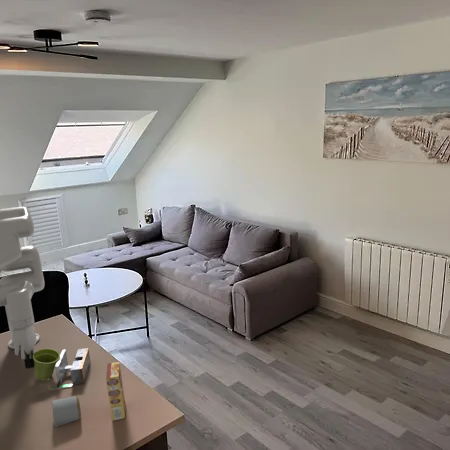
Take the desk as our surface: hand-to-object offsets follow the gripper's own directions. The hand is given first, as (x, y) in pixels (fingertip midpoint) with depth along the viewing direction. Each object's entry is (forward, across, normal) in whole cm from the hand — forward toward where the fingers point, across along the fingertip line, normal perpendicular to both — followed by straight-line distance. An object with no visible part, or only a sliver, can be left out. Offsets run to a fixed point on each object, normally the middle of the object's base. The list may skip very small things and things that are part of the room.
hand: (30, 366), depth 154 cm
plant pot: (+5, 0, +4) cm, 6 cm away
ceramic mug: (+6, +25, +18) cm, 31 cm away
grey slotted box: (+5, 0, +14) cm, 15 cm away
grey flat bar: (+5, +1, +12) cm, 13 cm away
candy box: (+6, +25, +34) cm, 43 cm away
